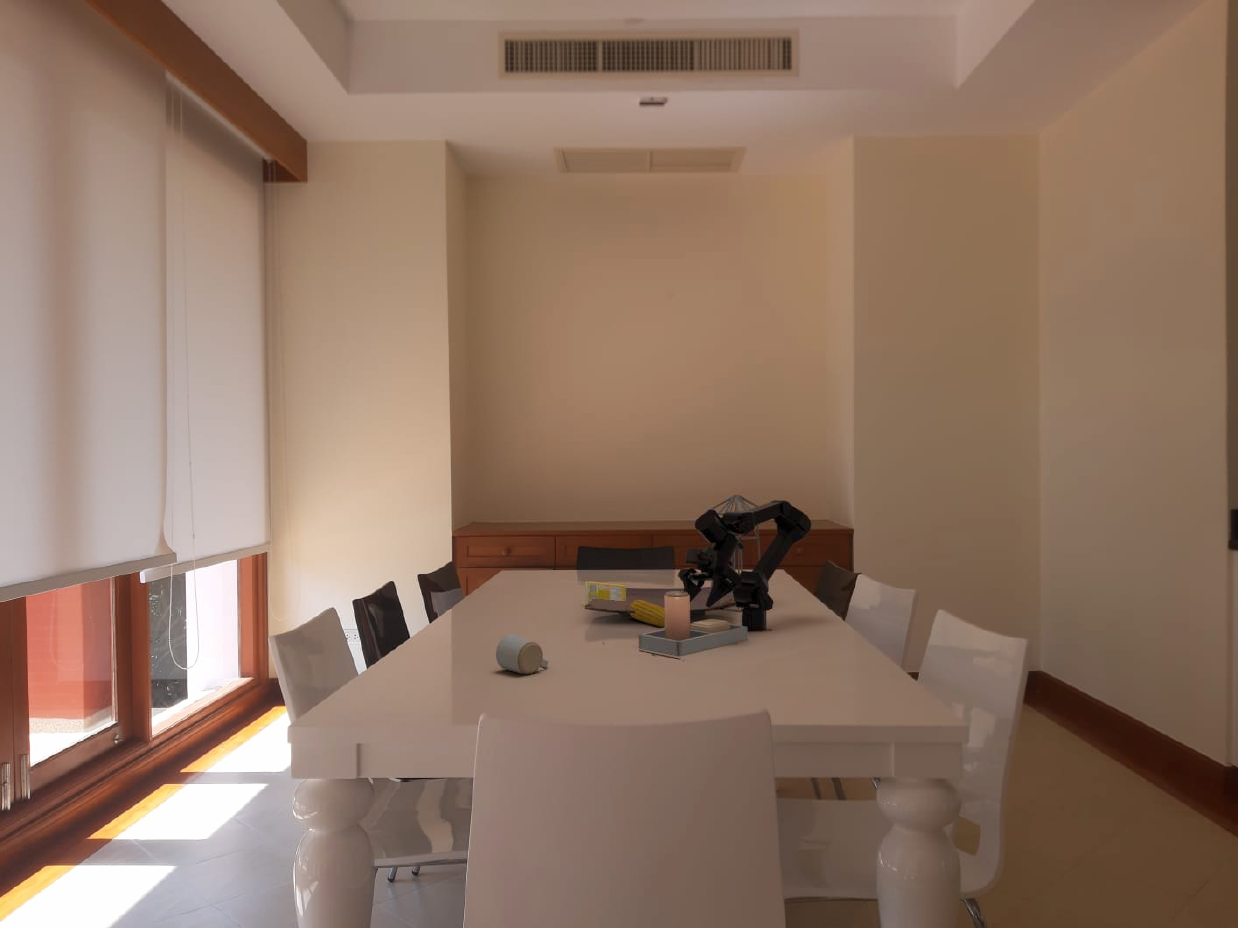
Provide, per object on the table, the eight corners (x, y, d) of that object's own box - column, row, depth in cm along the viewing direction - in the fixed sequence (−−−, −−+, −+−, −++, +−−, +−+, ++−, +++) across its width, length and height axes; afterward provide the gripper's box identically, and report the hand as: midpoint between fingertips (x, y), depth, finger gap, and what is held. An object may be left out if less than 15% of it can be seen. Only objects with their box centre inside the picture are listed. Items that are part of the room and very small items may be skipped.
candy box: (626, 612, 260) (626, 585, 260) (622, 613, 259) (621, 585, 259) (589, 606, 271) (588, 580, 271) (584, 607, 270) (584, 581, 270)
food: (626, 619, 248) (626, 599, 248) (643, 617, 251) (642, 597, 251) (665, 631, 230) (665, 609, 230) (683, 629, 233) (683, 607, 233)
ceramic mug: (519, 678, 181) (519, 641, 181) (495, 671, 186) (495, 636, 186) (556, 669, 188) (557, 634, 188) (532, 664, 194) (532, 629, 194)
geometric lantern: (701, 608, 265) (700, 494, 266) (734, 603, 276) (733, 494, 277) (741, 614, 253) (740, 495, 254) (774, 608, 264) (773, 494, 265)
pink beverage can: (686, 643, 209) (685, 590, 209) (693, 649, 203) (692, 594, 203) (662, 645, 207) (661, 591, 207) (668, 650, 202) (668, 595, 201)
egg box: (711, 635, 218) (711, 618, 218) (730, 639, 214) (730, 621, 214) (690, 640, 213) (690, 622, 213) (709, 644, 208) (708, 625, 208)
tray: (707, 635, 222) (707, 620, 222) (747, 642, 213) (747, 626, 213) (638, 651, 205) (638, 634, 205) (679, 659, 196) (678, 641, 196)
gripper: (677, 537, 223) (650, 588, 216) (724, 533, 208) (697, 587, 201) (705, 562, 227) (680, 612, 221) (753, 559, 212) (728, 613, 205)
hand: (695, 606), depth 212 cm, fingers open, 9 cm apart
